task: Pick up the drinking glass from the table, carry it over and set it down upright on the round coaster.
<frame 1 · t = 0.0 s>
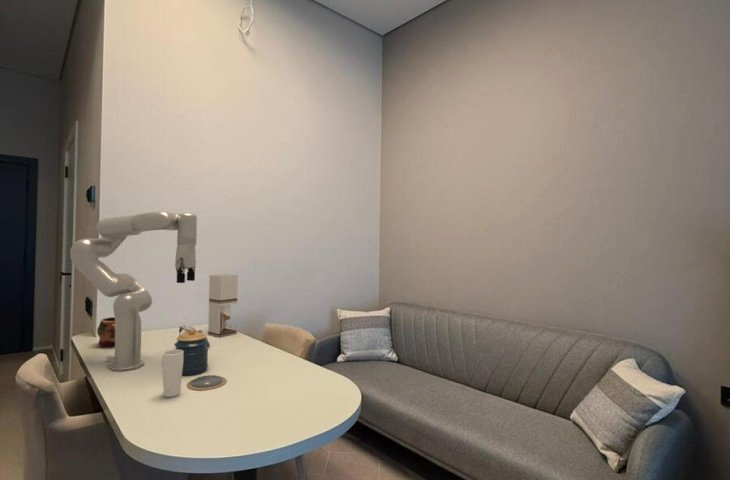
hand: (185, 281, 163), 37 cm above the table, tool pointing down, fingers open, 9 cm apart
notched white tower: (222, 334, 222), on the table
drinking glass: (172, 395, 133), on the table
round coaster: (207, 383, 144), on the table
canister: (190, 371, 158), on the table
decorative planter: (111, 346, 193), on the table
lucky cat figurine: (194, 348, 191), on the table
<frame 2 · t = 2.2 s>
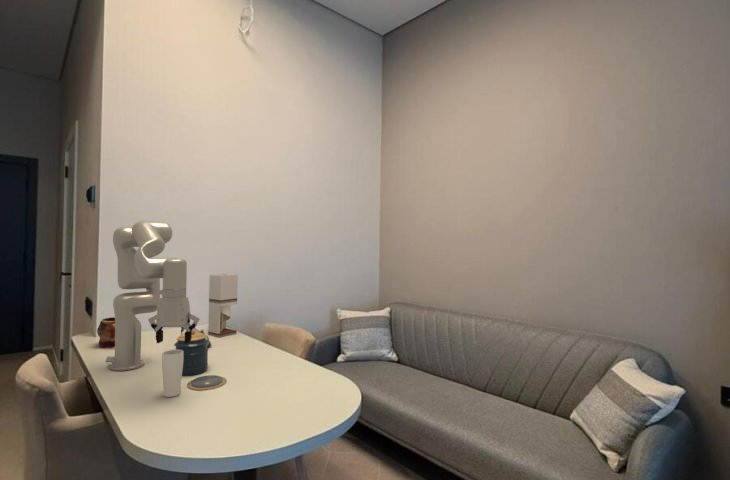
hand: (173, 342, 133), 18 cm above the table, tool pointing down, fingers open, 9 cm apart
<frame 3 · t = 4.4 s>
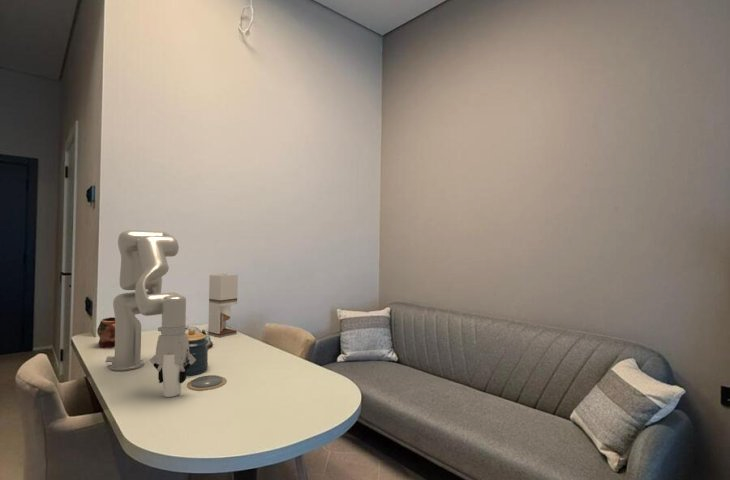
hand: (172, 381, 133), 5 cm above the table, tool pointing down, fingers closed on drinking glass, 6 cm apart
drinking glass: (172, 395, 133), on the table, touching gripper
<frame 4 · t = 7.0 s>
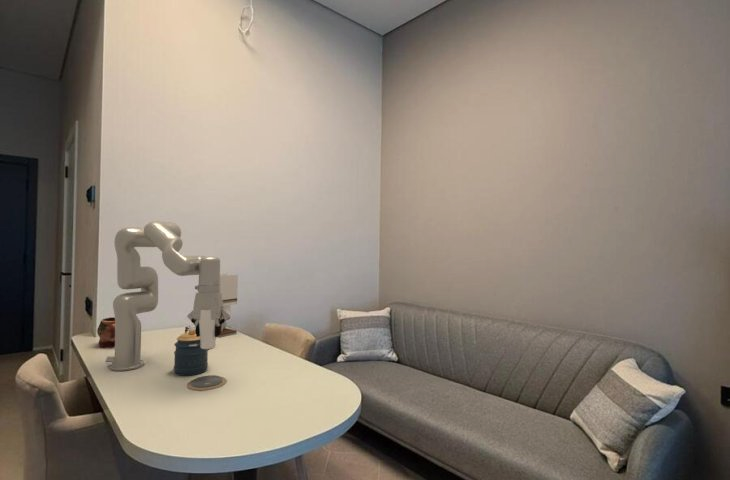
hand: (208, 335, 144), 18 cm above the table, tool pointing down, fingers closed on drinking glass, 6 cm apart
drinking glass: (207, 348, 144), point 13 cm above the table, touching gripper
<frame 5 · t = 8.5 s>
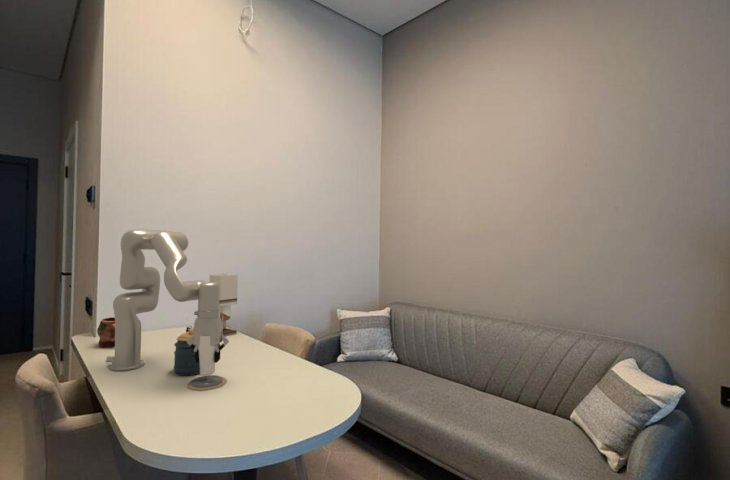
hand: (207, 361, 144), 8 cm above the table, tool pointing down, fingers closed on drinking glass, 6 cm apart
drinking glass: (207, 373, 144), point 4 cm above the table, touching gripper
when the fingers open (7 cm above the table, at t = 9.8 s): drinking glass drops 1 cm, resting on round coaster.
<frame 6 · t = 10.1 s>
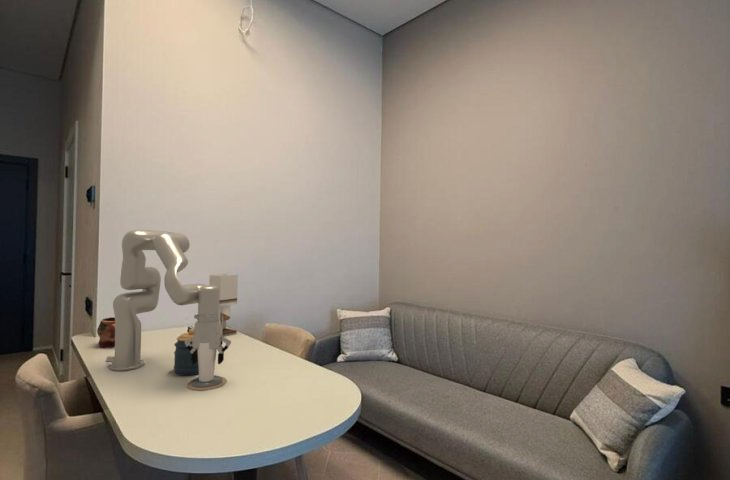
hand: (207, 363, 144), 8 cm above the table, tool pointing down, fingers open, 9 cm apart
drinking glass: (206, 380, 144), point 1 cm above the table, touching round coaster
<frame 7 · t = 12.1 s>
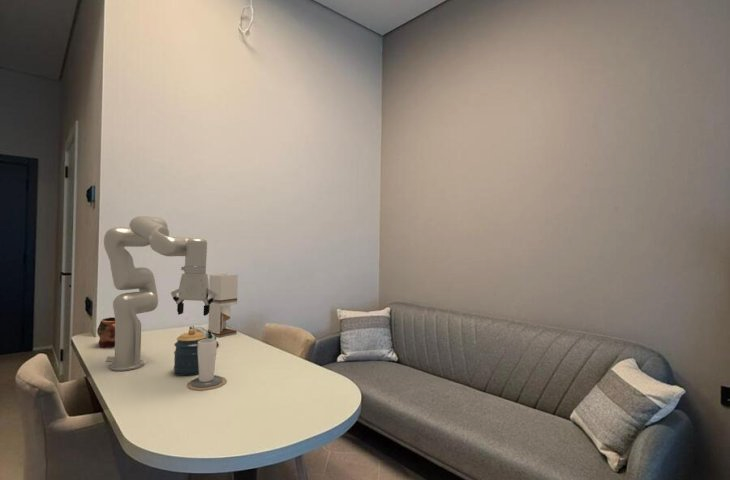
hand: (193, 314, 147), 26 cm above the table, tool pointing down, fingers open, 9 cm apart
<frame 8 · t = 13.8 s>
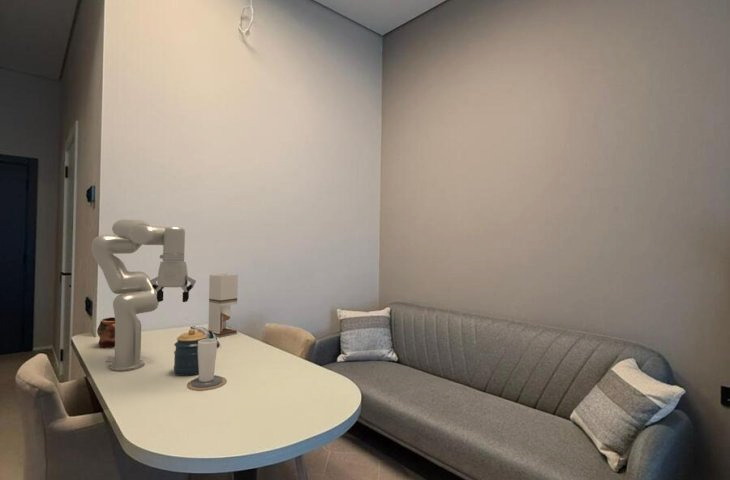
hand: (172, 301, 149), 30 cm above the table, tool pointing down, fingers open, 9 cm apart
at the end: drinking glass 0.3 cm from the round coaster (horizontally); drinking glass point 1.0 cm above the table; drinking glass tilted 0° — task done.
